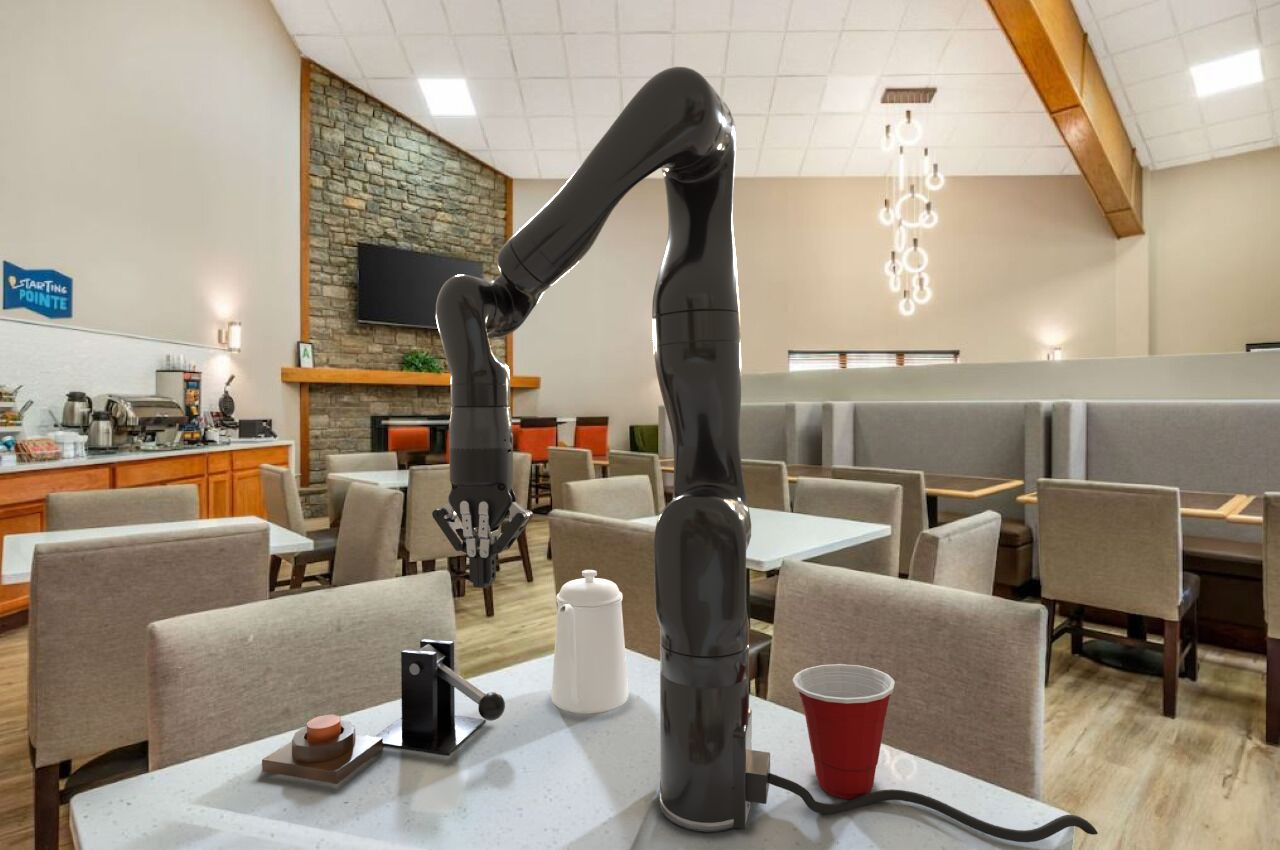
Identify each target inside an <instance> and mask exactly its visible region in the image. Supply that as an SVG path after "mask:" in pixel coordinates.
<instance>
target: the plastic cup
mask: <svg viewBox="0 0 1280 850" xmlns="http://www.w3.org/2000/svg"><path fill="white" fill-rule="evenodd" d="M792 682H793V685H794V688H795V689H796V691H798V695H799V697H800V701H801V704H802V707H803V711H804V716H805V722H806V728H807V733H808V734H807V735H808V739H809V746H810V750H811V753H812V759H813V765H814V771H815V775H816V778H817V782H818V783H817V784H818V785H819V787H820V788H821V789H822V790H823V791H824V792H825V793H826V794H829V795H831V796H833V797H836V798H840V799H845V800H852V799H854V798H857V797H859V796H862V795H865V794H868V793H871V792H872V789H873V788H874V787H873V786H874V782H875V776H876V771H877V765H878V763H879V758H880V752H881V745H882V740H883V733H884V728H885V727H884V726H885V721H886V717H887V712H888V707H889V702H890V697H891V695H892V694H893V693H894V689H895V688H894V687H895V682H896V681H895V680H894V679H893V677H892V676H890V675H889V674H888V673H886V672H883V671H881V670H879V669H876V668H872V667H868V666H864V665H859V664H857V665H856V664H845V663H835V664H834V663H833V664H832V663H831V664H820V665H816V666H811V667H807V668H805V669H802V670H800V671H799V672H795V674H794V676H793V678H792Z"/></svg>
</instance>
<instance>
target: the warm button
mask: <svg viewBox="0 0 1280 850" xmlns="http://www.w3.org/2000/svg"><path fill="white" fill-rule="evenodd" d="M341 721H342V718H341V716H339V715H338V714H324V715H319V716H316V717H313V718H312V719H310V720H308V722H307V723H306V726H307V741H311V742H321V741H327V740H330V739H333V738H336V737H337V736H339V735H340V734H341Z"/></svg>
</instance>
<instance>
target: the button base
mask: <svg viewBox="0 0 1280 850" xmlns="http://www.w3.org/2000/svg"><path fill="white" fill-rule="evenodd" d="M381 750H384V746H383V738H380V737H375V736H373V735H365V734H360V733H356V725H354V724H353V722H351V721H349V720H348V721H347V720H341V734H340V735H339V736H337V737H336V738H333V739H330V740H327V741H321V742H311V741H307V725H306V726H305V727H303V728H301V729H300V730H298V731H296V732H295V733H294V735H293V736H292V739H291V741H290V742H288V743H286V744H285V745H283V746H281V747H280V748H278V749H277V750H275V751H274V752H271V754H269V755H267V756H265V757H264V758H262V759H261V772H263V773H269V774H276V775H282V776H288V777H294V778H299V779H306V780H310V781H317V782H323V783H329V784H334V785H337V784H339V783H340V782H341V781H343V780H344V779H345V778H347V777H348V776H349V775H351V774H352V773H353V772H354V771H356V770H357V769H359V768H360V767H361V766H362V765H363V764H365V763H367V761H369V760H370V759H372V758H373V757H374V756H376V755H377V754H378V753H379V752H381Z"/></svg>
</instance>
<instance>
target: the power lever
mask: <svg viewBox="0 0 1280 850" xmlns="http://www.w3.org/2000/svg"><path fill="white" fill-rule="evenodd" d="M417 650H418V651H428V652H437V675H438V676H440V677H441V678H443V679H444V680H445V681H447V682H448V683H450V684H451V685H452V686H454V689H456V690H458V691H459V692H460V693H462V694H463V695H464V696H466V697H467V698H469V700H471V701H472V702H475V703H476V704H477V705H478V706H477V707H478V714H479V715H480V717H481V719H485V720H486V721H497V720H498V719H499V718H500V717H502V716H503V714H504V712H505V709H506V702H505V699H504V697H503V696H502V695H501V693H498V692H495V691H494V692H492V691H491V692H487V693H485V692H483V691H482V690H480V689H479V688H477V687H476V686H474V685H473V684H472V683H470V681H468V680H466V679H465V678H463V677H462V676H461V675H459V674H458V673H456V672H455V670H454V671H452V670H451V669H450V668H448V667H447V666H445V665H444V664H443V663H442V662H443V660H444V658H445V655H443V654H442V653H441V652H439V651H438V650H436V649H435V648H434V647H432V646H431V645H429V644H428V645H426V646H424V647H422V648H421V649H420V648H419V649H417Z"/></svg>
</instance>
